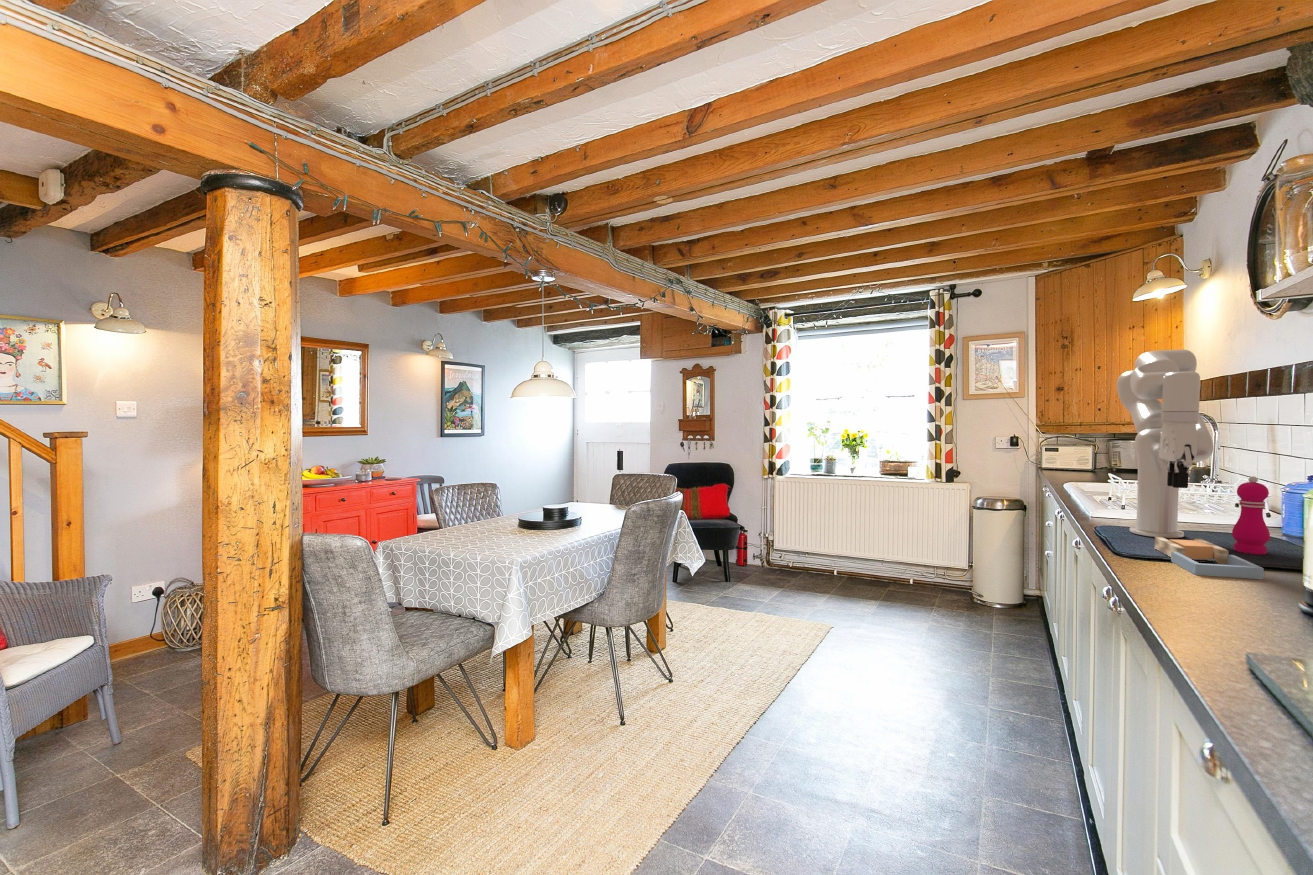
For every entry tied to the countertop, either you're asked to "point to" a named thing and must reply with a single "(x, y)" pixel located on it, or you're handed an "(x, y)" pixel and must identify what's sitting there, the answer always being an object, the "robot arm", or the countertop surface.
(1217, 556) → the pair of wooden slats
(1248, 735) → the countertop surface
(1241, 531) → the pepper mill
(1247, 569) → the bay
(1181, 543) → the block
